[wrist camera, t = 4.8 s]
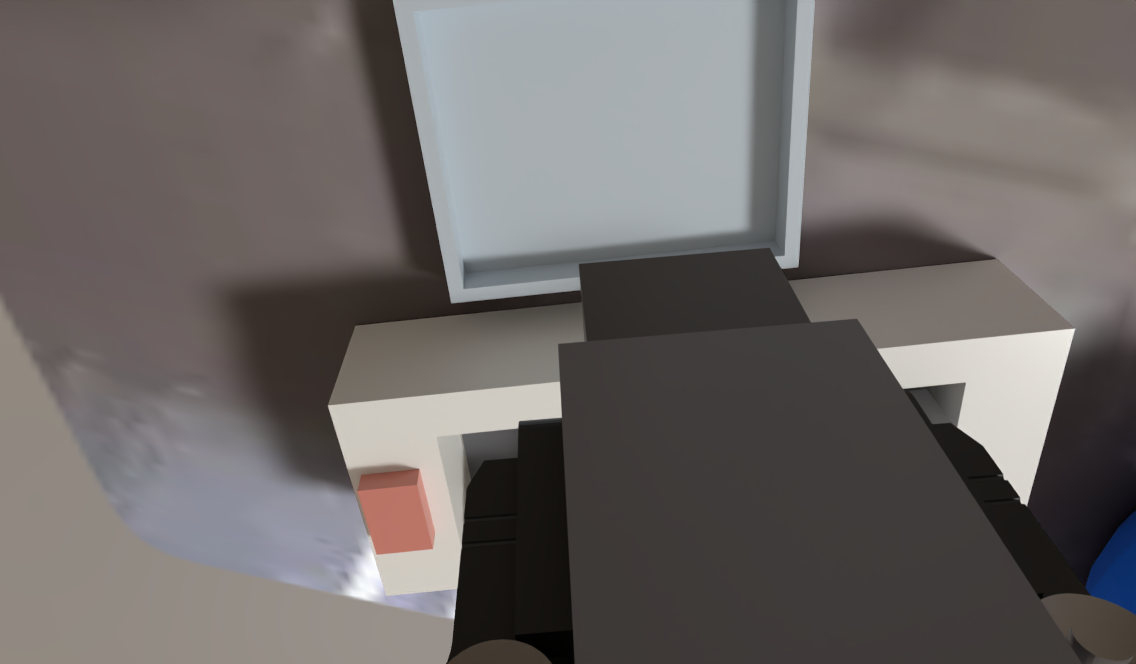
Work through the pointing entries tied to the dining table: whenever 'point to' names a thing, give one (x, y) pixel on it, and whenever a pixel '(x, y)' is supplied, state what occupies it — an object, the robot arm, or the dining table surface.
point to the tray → (606, 132)
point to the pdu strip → (531, 336)
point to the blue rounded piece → (1117, 568)
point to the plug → (766, 487)
